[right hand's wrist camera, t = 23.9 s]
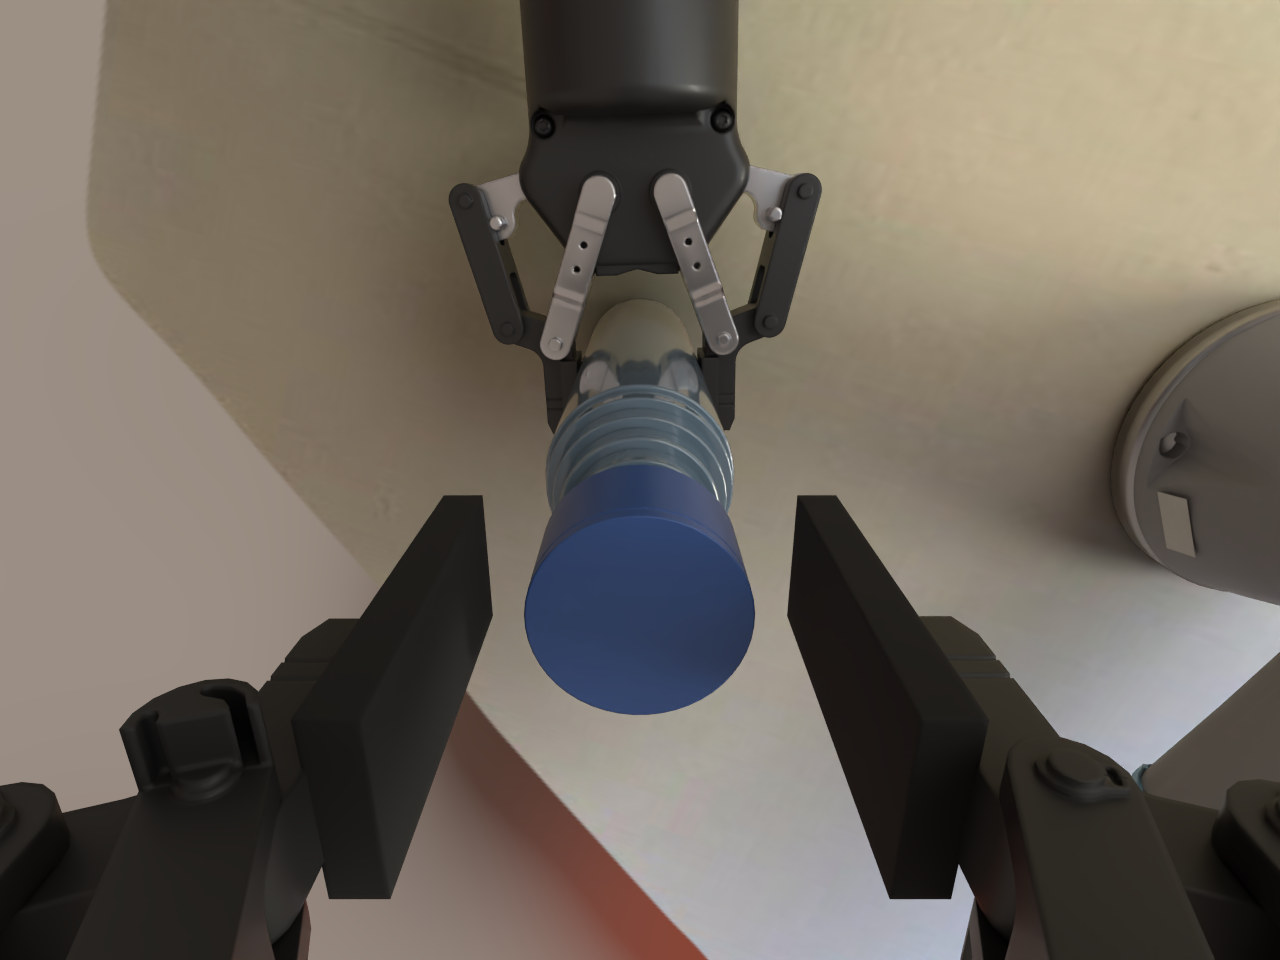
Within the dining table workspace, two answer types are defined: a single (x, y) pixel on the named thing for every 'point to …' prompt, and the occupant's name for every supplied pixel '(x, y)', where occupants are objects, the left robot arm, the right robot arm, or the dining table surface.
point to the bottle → (639, 406)
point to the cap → (639, 592)
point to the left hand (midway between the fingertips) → (642, 439)
